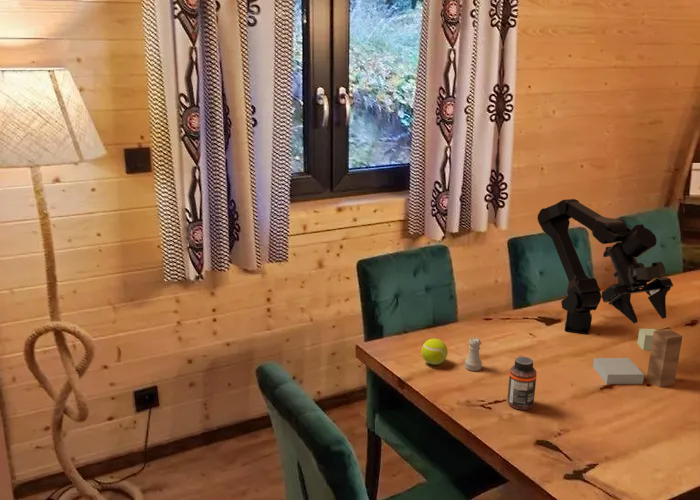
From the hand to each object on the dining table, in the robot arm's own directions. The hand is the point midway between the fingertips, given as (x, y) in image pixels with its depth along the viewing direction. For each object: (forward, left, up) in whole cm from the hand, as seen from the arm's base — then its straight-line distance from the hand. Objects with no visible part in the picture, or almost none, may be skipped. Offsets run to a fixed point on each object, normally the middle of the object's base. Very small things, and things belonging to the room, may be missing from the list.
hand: (650, 320), depth 172 cm
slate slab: (-7, -7, -14) cm, 17 cm away
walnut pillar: (+3, -7, -13) cm, 15 cm away
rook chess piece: (-42, -15, -13) cm, 46 cm away
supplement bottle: (-29, -30, -13) cm, 43 cm away
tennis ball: (-52, -16, -13) cm, 56 cm away
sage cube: (+2, +14, -13) cm, 20 cm away
